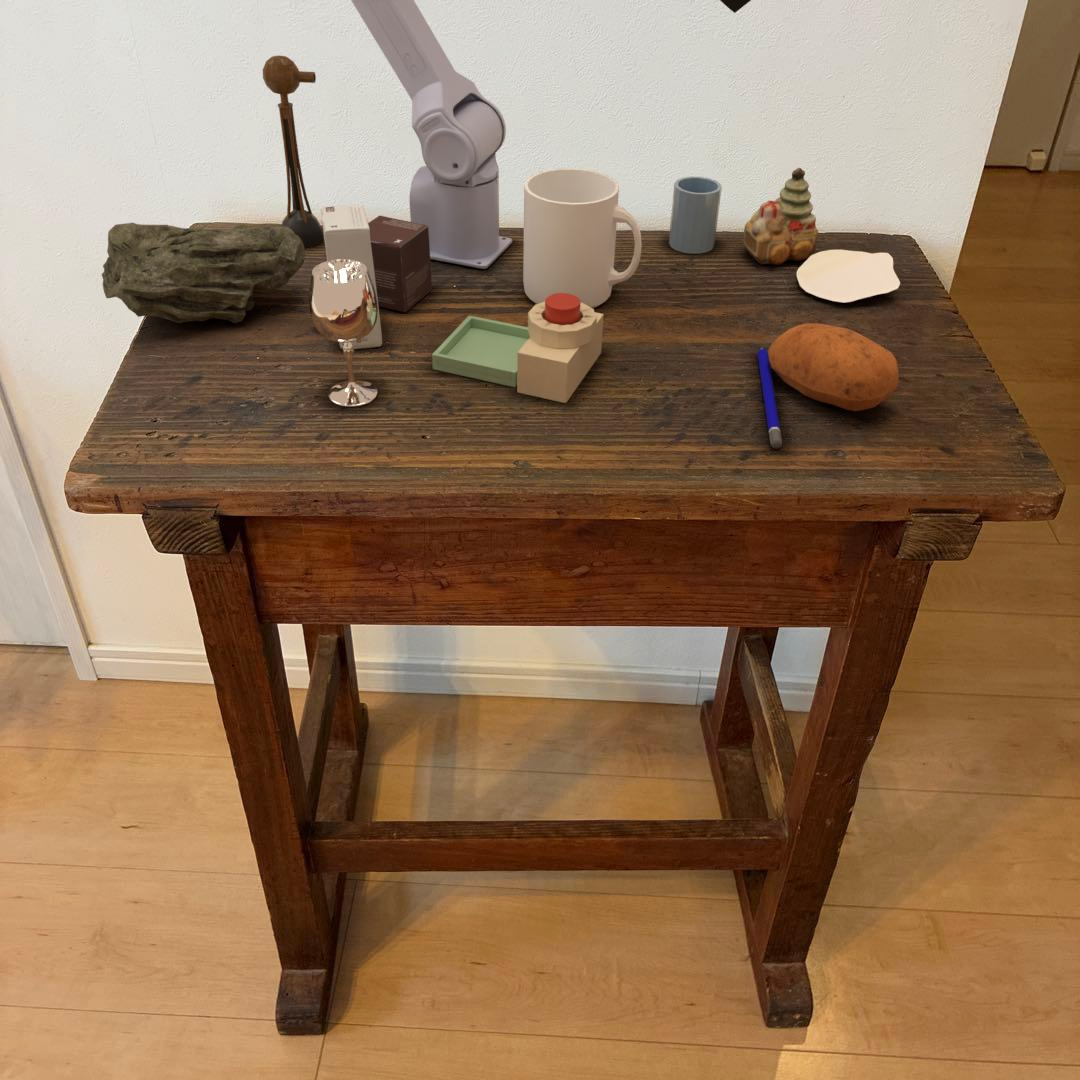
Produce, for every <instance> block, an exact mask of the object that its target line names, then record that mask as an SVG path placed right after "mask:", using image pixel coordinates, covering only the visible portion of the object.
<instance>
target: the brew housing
mask: <svg viewBox="0 0 1080 1080" xmlns="http://www.w3.org/2000/svg"><path fill="white" fill-rule="evenodd" d="M604 317H605V315H604V313H600V312H595V308H591V307H589V306H587V305H585V304H584V303H582V302H581V303H580V320H579V322H577V323H574V324H571V325H558V324H553V323H549V322H548V321H546V320H545V302H542V303H539V304H536V303H535V304H534V305H533V307H531V309H530V310H529V311H528V313H527V327H528V332H529V335H530V338H529V339H528V340H527V341H526V343H525V344H524V345H523V346H522V348H521V349H520V350H519V351H518V352H517V386H516V393H518V394H522V395H526V396H532V397H536V398H541V399H546V400H549V401H554V402H557V403H563V404H567V403H568V401H569V400H570V398H571V397H572V395H573V394H574V393H575V391H576V390H577V389H578V387H579V385H580V384H581V383H582V381H583V380H584V378H585V377H586V375H587V374H588V372H589V371H591V368H592V367H593V366H594V364H595V362H596V361H597V360H598V358H599V357H600V356H601V354H602V348H603V347H602V345H603V332H604V331H603V330H604Z"/></svg>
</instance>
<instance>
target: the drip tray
mask: <svg viewBox="0 0 1080 1080" xmlns="http://www.w3.org/2000/svg"><path fill="white" fill-rule="evenodd" d="M529 338H530V335H529V332H528V326H523V325H518V324H513V323H510V322H504V321H499V320H494V319H489V318H484V317H479V316H475V315H467V317H466V318H465V319H464V320H463V321H462V322H461V323H460V324H459V325H458V326H457V327H456V328H455V329H454V330H453V332H451V334H450V335H449V336H448V337H447V338H446V339H445V340H444V341H443V342H442V343H441V344H440V345H439V346H438V347H437V349H435V351H433V353H432V354H431V363H432V364H431V366H432V370H434V371H439V372H444V373H448V374H452V375H457V376H462V377H466V378H471V379H476V380H479V381H480V380H481V381H485V382H489V383H493V384H497V385H503V386H507V387H511V388H517V352H518V351H519V350H520V349H521V348H522V346H523V345H524V344H525V343H526V341H527V340H528V339H529Z"/></svg>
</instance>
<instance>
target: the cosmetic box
mask: <svg viewBox="0 0 1080 1080" xmlns="http://www.w3.org/2000/svg"><path fill="white" fill-rule="evenodd" d="M320 215H321V223H322V233H323V241H324V247H325V254H326V261H330V260H337V259H348V260H355V261H358V262H361V263H363V264H364V265H365V266H366V267H367V269H368V272H369V275H370V278H371V280H372V283H373V286H374V290H375V294H376V298H377V290H376V282H375V273H374V265H373V257H372V249H371V241H370V228H369V225H368V223H369V221H368V217H367V214H366V210H365V207H364V204H361V203H359V204H347V205H335V206H324V207H321V208H320ZM377 306H378V299H377ZM379 308H380V306H378V313H377V320H376V324H375V326H374V328H373V330H372V331H371V332H370V333H369V334H368V335H367V336H365V337H364V338H362V339H360V340H357V341H354V342H352V344H353V347H354V350H359V349H370V348H378V347H381V346H382V345H383V334H382V326H381V325H382V324H381V317H380V309H379ZM338 343H339V347H340V349H341V350H343V343H342V342H338Z"/></svg>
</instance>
